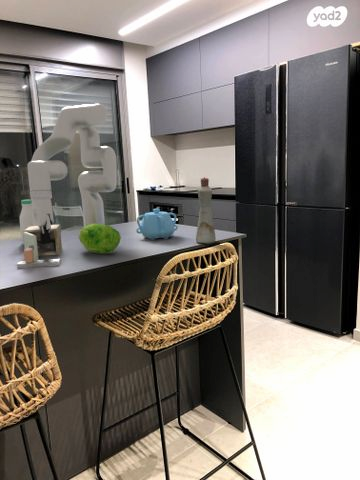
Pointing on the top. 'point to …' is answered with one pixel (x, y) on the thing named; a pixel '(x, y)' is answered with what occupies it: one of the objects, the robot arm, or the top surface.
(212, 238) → the bottle
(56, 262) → the fader strip
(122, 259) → the top surface
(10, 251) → the top surface
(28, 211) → the milk bottle
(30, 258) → the fader knob
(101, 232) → the lettuce
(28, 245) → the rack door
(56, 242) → the cabinet
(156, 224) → the decorative pot
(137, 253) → the top surface
